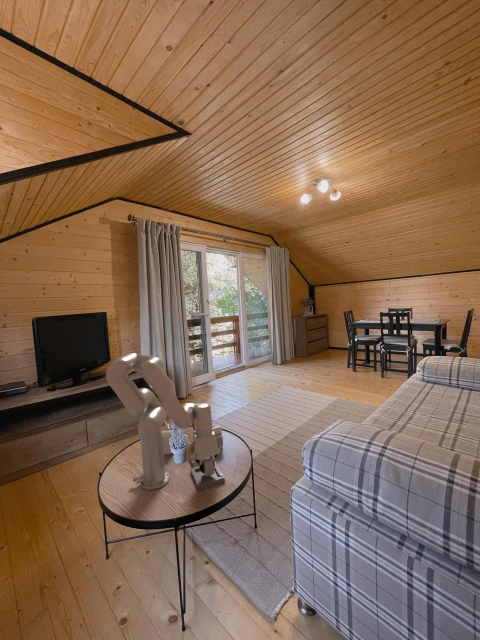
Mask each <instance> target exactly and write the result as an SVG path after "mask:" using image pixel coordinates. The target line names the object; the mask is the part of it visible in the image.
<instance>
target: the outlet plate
mask: <svg viewBox="0 0 480 640" xmlns="http://www.w3.org/2000/svg"><path fill="white" fill-rule="evenodd" d="M212 431H213V432H214V433H215V436H216V441H217V447H219V449H220V450H221V449H223V448H224V438H223V437H224V436H223V430H222V426H221V425H217V426H212Z"/></svg>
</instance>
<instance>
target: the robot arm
mask: <svg viewBox="0 0 480 640" xmlns="http://www.w3.org/2000/svg"><path fill="white" fill-rule="evenodd" d="M133 372H139V374H140V376H141V377H142V378H143V380H144V381H145V382H146V384H148V386H149V387H150V389H152V390H150V389H149V388H146V387H141V388H139V387H138V386H137V384H136V383H135V382H134V381H133V380H132V379H131V378H129V374H130V373H133ZM105 375H106V376H105V377H106V381H107V384H108V385H109V386H110V387H111V389H112V391H113V392H114V393H115V394H116V395H117V397H118V398H119V400H120V401H121V403H122V404H123V406H124V407H125V408H126V410H127V412H128V413H129V414H130V415H132V416H135V417H138V416H140V415H142V414H143V415H142V417H141V418H140V421H139V422H138V425H137V432H138V437H139V440H140V449H141V458H142V470H143V471H142V474H140V475H137V476H133V477H132V482H133V483H135V482H136V483H135V484H140V487H142V489H143V490H148V491H155V490H157V489H160V488H162V487H164V486H165V485H166V484H167V483H168V482H169V480H170V473H169V471H166V462H165V455H164V446H163V437H162V434H161V431H162V426H163V424H164V423H165V421H166V418H167V417H168V419H170V421H171V422H172V424H174V425H175V426H176V427H178V428H180V429H186V428H188V427H190V426H191V425H192V420H193V419H195V427H196V428H195V431H194V430H193V431H192V435H193V436H195V438H194V440H193V452H192V455H191V456H190V458H191V461H192V462H195V463H197V464H198V466H199V468H200V471H202V473H204V468H203V463H202V461H203V459H205V458H208V457H211V458H212V460H213V465H214V466H215V463H216V458H217V457H218V456H219V454H220V453H221V452H222V450H221V448H220V449H219V448H218V447H217V441H216V436H215V433H214V432H213V431H212V428H213V422H212V421H213V420H212V408H211V405H210V404H209V403H208V402H201V403H193V402H192V403H191V402H189V403H188V402H186V403H183V404H181V403H180V401H179V399H178V397H177V393H176V386H175V383H174V382H173V381H172V380H171V378H170V377H169V376H168V375H167V374H166V372H165V371H164V362H163V360H162V359H160V358H159V357H157V356H153V355H147V354H142V353H134V352H130V353H126V354H124V355H122V356H119V357H117V358H116V359H114V360H113V361H112V362H111V363H110V365H109V366H108V367H107V369H106V373H105ZM154 393H155V394H156V395H157V397H158V398H157V397H156V395H155V394H154ZM195 457H196V458H195ZM214 461H215V462H214Z"/></svg>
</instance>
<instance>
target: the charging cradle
mask: <svg viewBox="0 0 480 640" xmlns="http://www.w3.org/2000/svg"><path fill="white" fill-rule="evenodd" d="M214 462H215V466H214V474H212V475H209V476H205V474H204V473H202V471H200V468H199V465H198V466H194V468H192V467H191V468H190V475H192V476H191V477H192V479H193V481H194V483H195V485H196V488H197V489H198V491H202V490H205V489H207V488H210V487H214V486H216V485H219V484H223V483H225V482H226V479H225V476H224V474H223V473H222V471H221V469H220V468H219V466H218V464H217V463H216V460H215V461H214Z"/></svg>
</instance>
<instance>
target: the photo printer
mask: <svg viewBox="0 0 480 640" xmlns="http://www.w3.org/2000/svg"><path fill="white" fill-rule="evenodd" d="M170 431H171V430H161V434H162V437H163V446H164V456H165V455H172V454H171V449H170V445H169V438H170V436H171V433H170Z"/></svg>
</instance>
